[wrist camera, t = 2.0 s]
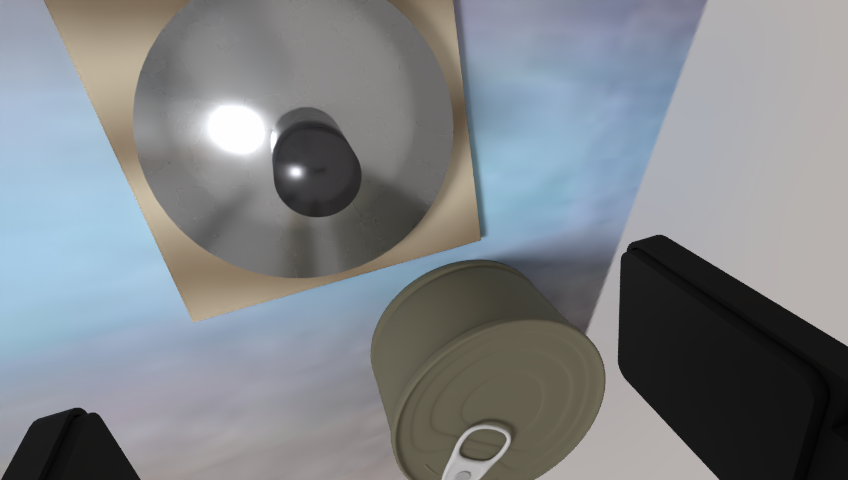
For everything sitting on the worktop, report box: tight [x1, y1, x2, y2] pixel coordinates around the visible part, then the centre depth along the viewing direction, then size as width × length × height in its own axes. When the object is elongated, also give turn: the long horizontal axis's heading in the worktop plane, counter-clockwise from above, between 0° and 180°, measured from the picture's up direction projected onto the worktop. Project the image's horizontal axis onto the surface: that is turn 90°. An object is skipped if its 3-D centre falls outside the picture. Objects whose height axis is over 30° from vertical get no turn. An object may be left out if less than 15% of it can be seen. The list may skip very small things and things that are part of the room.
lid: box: [133, 0, 453, 278], centre depth 21 cm, size 14×14×6 cm
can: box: [371, 260, 605, 480], centre depth 30 cm, size 12×12×7 cm
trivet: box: [44, 0, 481, 322], centre depth 24 cm, size 16×16×1 cm
